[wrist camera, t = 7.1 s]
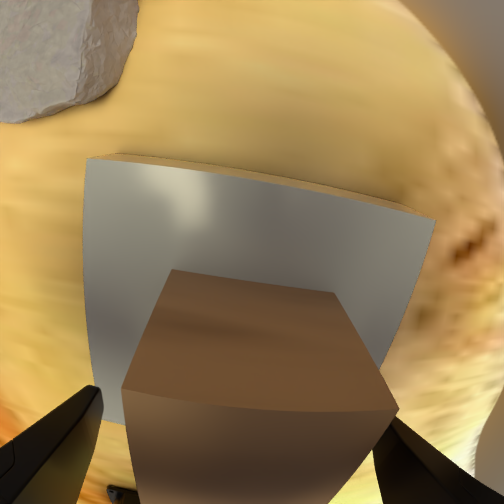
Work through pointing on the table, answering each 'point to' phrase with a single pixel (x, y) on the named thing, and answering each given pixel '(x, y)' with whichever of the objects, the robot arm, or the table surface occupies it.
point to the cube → (250, 395)
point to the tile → (235, 248)
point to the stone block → (61, 53)
